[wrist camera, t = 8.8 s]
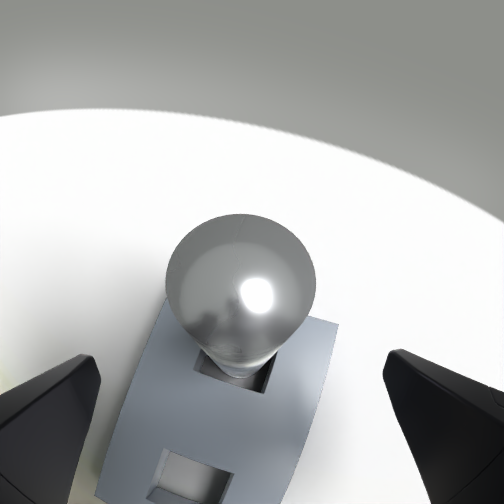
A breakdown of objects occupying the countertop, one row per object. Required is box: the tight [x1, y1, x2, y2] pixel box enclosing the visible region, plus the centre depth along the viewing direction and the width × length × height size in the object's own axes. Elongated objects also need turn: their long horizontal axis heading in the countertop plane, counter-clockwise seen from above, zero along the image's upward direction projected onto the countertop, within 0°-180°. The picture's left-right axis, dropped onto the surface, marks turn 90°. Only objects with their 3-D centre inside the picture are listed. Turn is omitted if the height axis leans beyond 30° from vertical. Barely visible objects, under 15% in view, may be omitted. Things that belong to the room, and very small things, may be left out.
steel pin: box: [166, 214, 316, 378], centre depth 11 cm, size 3×3×12 cm
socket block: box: [95, 298, 339, 504], centre depth 13 cm, size 16×10×2 cm, turn 162°
